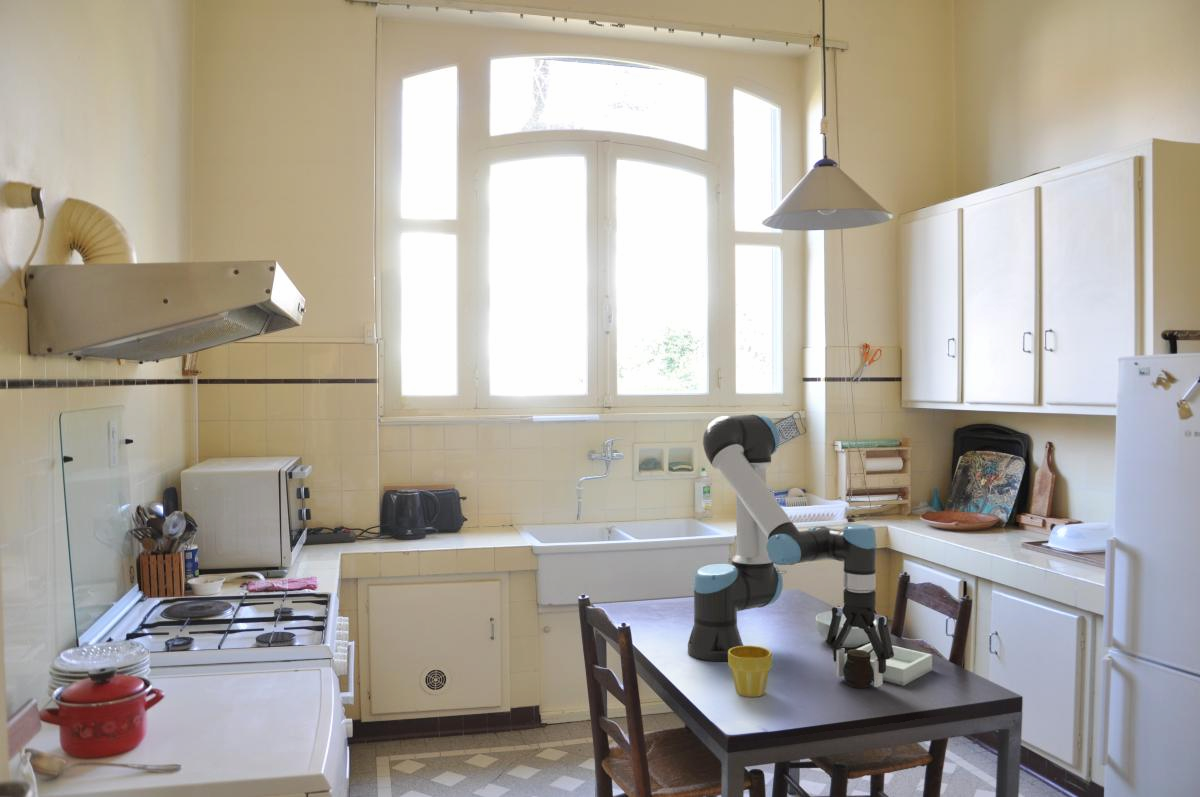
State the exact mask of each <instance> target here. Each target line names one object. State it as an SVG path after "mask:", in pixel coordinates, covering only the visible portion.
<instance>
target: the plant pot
mask: <svg viewBox="0 0 1200 797" xmlns="http://www.w3.org/2000/svg"><path fill="white" fill-rule="evenodd" d="M772 655H773V654H772V652H771V651H770V650H769V649H768V648H765V647H762V646H758V645H757V646H756V645H743V646H737V647H733V648H731V649H729V651H728V662H727V664H728V667H729V668H730V669H731V673H732V678H733V682H734V688H735V692H736V693H737V694H738V695H739V696H742V697H748V698H757V697H761V696H763V695H764V694H765V691H766V687H767V680H768V675H769V671H770V669H771V668H772V665H773V664H772V663H773V662H772V661H773V656H772Z"/></svg>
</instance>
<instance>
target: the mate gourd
mask: <svg viewBox="0 0 1200 797" xmlns="http://www.w3.org/2000/svg"><path fill="white" fill-rule="evenodd" d="M856 649H857V648H855V649H849V650H847V651H846V654H847V661H846V663H845V665H844V668H843V674H844V675H843V677H844V678H843V679H844V681H845V683H847V684H848V685H849V686H850V687H852V688H857V689H866V688H868V687H869V686H870V685H871V684H872V682H873V680H874V678H873V676H874V672H873V668H872V665H871V662H870V659H871V657H870V656H871V654H870V653H871V652H872V651H873V650H874V649H872V650H870V652H867V651H863V650H856Z"/></svg>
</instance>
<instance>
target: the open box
mask: <svg viewBox="0 0 1200 797" xmlns="http://www.w3.org/2000/svg"><path fill="white" fill-rule="evenodd" d="M892 648H893V652H894V657H892V658H890V659H886V671H885V673H883V682H888V683H892V684H895V685H900V686H901V687H902V686H903V687H904V686H906V685H908V684H909V683H911V682H913V681H915V680H917V679H919V678H920V677H922V676H925V675H926V674H928V673H930V672H932V671H933V654H931V653H926V652H923V651H918V650H913V649H908V648H905V647H900V646H896V645H892ZM855 649H856V650H863V651H867V652H870V650H872V649H873V647H872V645H871V642H870V643H869V642H868V643H866V644H864V645H862V646H861V647H860V646H859V647H857V648H855ZM870 654H871V656H870V657H871V659H870V662H871V665H872V668H873V672H874V660H875V659H877V656H876V654H875V651H874V650H873V651H872V652H871V653H870ZM846 661H847V653H845V663H846ZM873 679H874V676H873Z"/></svg>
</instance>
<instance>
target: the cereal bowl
mask: <svg viewBox="0 0 1200 797" xmlns="http://www.w3.org/2000/svg"><path fill="white" fill-rule="evenodd" d="M831 620H832V610H830V611H823V612H821V613H818V614H817V615H816V616H815V627H816V631H817V632H818V633H819V635H820V636H821V637H822V638H823V639H825V640H827V636H828V632H829V628H830V624H831ZM845 621H846V617H845V615H844V614H843V615H841V621H840V625H839V629H838V633H837V637H838V635H839V633H840V631H841V629H842V628H843V624H844V623H845ZM876 622H877V621H876V620H874V621H873V623H874V625H875V627H876V632H877V633H878V624H877V623H876ZM869 628H870V627H869ZM837 637H836V639H837ZM869 642H870V640H869V638H868V635H867V634H866V633H865V631H864V629H861V628H858V627H852V628H851V630H850V632H849V634H848V636H847V638H846V639H845V641H844V643H843V645H842V647H841V648H859V647H860V646H861V645H866V644H869ZM870 643H871V642H870Z"/></svg>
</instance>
